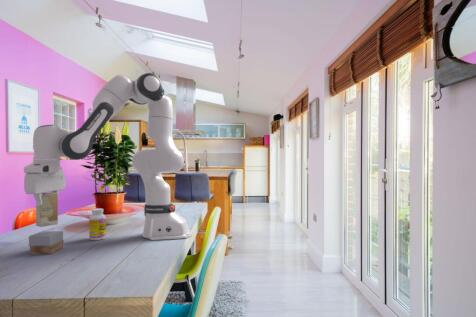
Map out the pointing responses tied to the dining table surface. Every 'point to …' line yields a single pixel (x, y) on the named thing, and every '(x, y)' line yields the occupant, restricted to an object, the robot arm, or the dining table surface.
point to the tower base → (47, 248)
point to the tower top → (45, 238)
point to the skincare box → (47, 210)
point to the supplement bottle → (97, 225)
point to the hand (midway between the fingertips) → (47, 203)
